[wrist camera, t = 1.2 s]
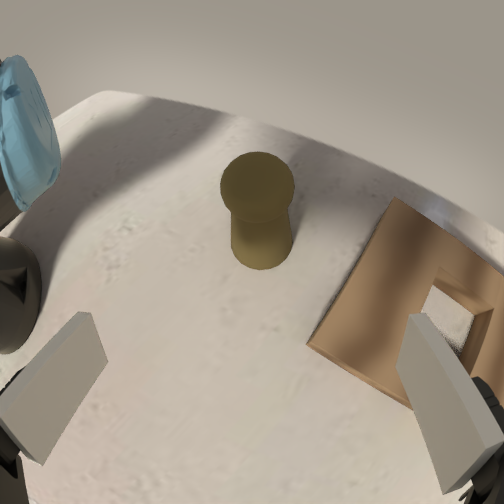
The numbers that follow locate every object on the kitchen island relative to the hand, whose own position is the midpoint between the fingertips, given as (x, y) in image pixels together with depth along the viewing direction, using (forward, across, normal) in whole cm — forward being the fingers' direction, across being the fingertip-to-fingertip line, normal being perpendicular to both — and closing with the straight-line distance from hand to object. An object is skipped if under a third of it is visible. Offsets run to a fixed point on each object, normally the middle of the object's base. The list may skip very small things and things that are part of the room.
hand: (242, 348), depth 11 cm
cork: (+19, 0, -2) cm, 19 cm away
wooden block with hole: (+13, +17, -9) cm, 23 cm away
